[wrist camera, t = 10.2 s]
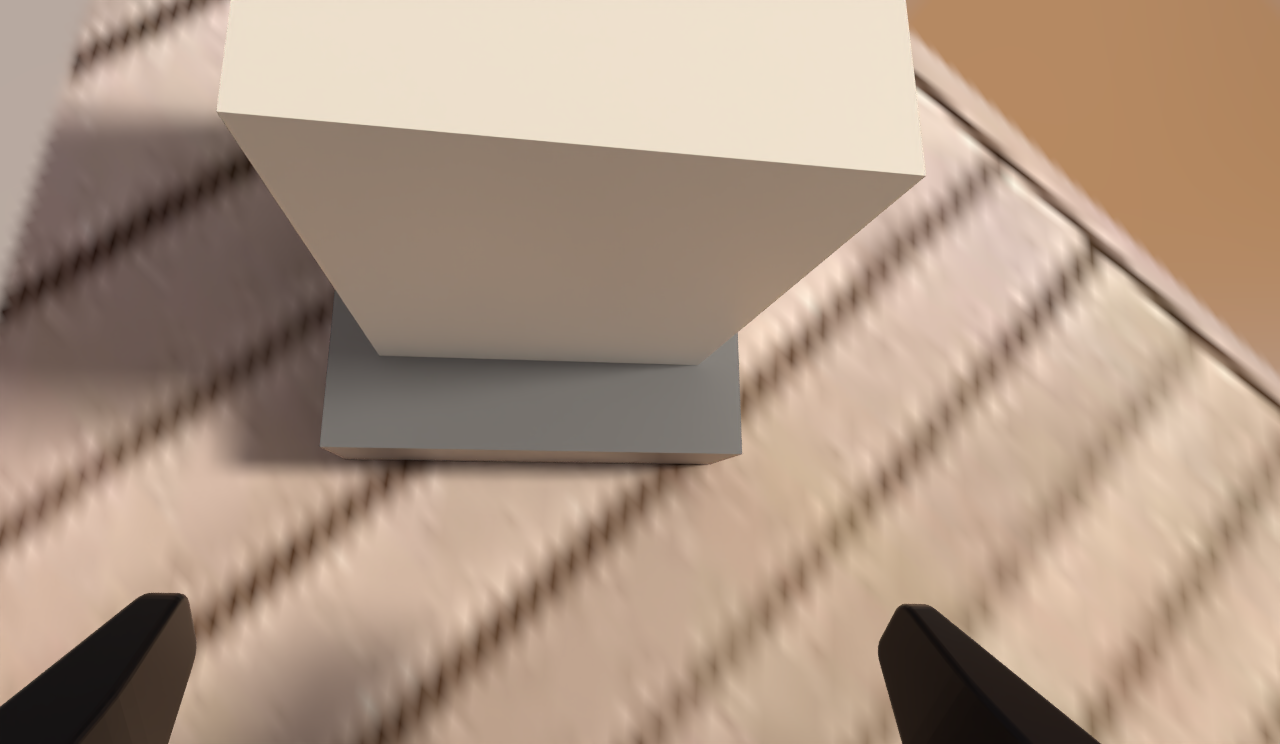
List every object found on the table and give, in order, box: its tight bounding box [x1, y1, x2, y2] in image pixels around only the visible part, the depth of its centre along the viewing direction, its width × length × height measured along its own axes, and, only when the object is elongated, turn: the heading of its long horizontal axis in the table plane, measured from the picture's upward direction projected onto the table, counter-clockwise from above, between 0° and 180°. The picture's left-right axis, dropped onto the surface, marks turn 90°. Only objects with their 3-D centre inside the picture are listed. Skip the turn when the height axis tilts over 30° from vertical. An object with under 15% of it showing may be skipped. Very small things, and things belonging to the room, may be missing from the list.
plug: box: [216, 0, 926, 365], centre depth 13 cm, size 7×7×11 cm
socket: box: [320, 290, 742, 464], centre depth 17 cm, size 11×9×2 cm
